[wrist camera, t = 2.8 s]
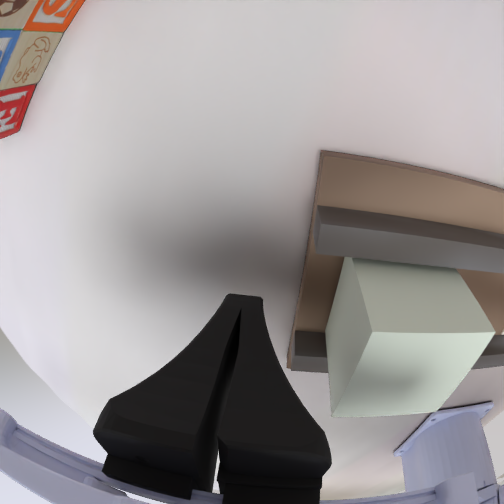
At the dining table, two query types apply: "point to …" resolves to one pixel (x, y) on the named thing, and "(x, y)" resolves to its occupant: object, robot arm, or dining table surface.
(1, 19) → the stack of blocks
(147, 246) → the dining table surface
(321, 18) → the dining table surface
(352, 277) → the sage block
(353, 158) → the chute
